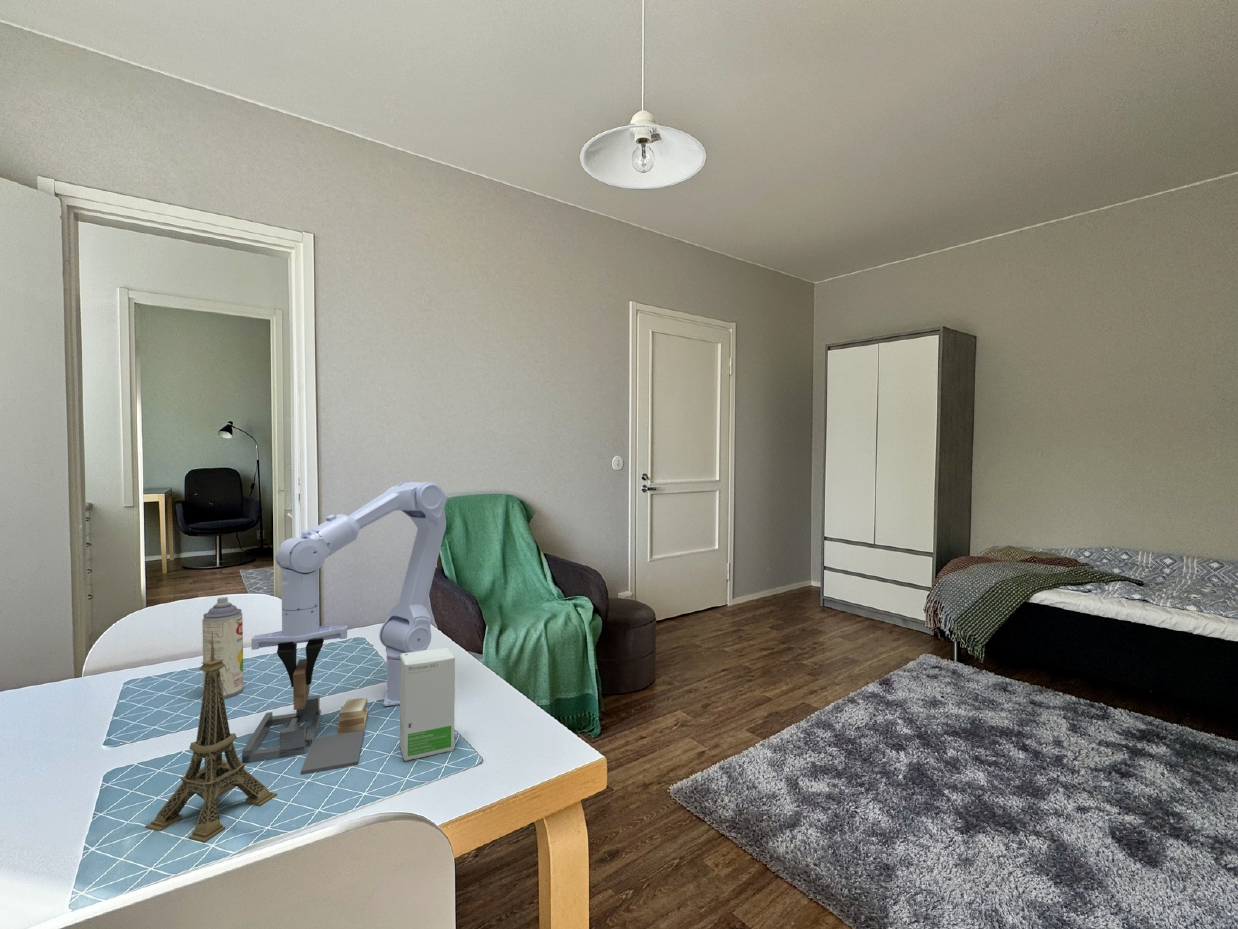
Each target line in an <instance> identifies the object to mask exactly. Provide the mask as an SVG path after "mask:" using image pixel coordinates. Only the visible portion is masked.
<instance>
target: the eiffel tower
mask: <svg viewBox="0 0 1238 929" xmlns="http://www.w3.org/2000/svg"><path fill="white" fill-rule="evenodd" d="M222 661H223V659H216V658H214V647H213V631H212V642H211V659H210V660H207V661H205V662H203V661H202V662H201V664H202V665H201V666H200V667H199V669H198V670H199V671H202V672H203V671H205V672H206V673H205V681H204V689H203V688H202V690H203V691H202V692H203V693H202V698H201V707H200V713H199V722H198V727H197V733H196V734H197V735H196V739H195V740H196V741H192V742H191V743H190V745H189V748H188V749H189V750H191V751H192V752H193V753H192V756H191V760H190V763H189V766H188V769H187V770H186V772H185V774H184V776H180V780H181V782H182V783H181V784H180V785H179V786H178V787H177V789H176V790H175V791H174V792H173V794H172V795H171V796H170V797H169V798H168V800H167V801H166V803H164V805H163V806H162V807H161V809H160V810H159V812H158V813H157V814H156V816H155V818H154V820H152V821H151V822H150V823H148V824H146V825H144V828H145V829H149V830H153V831H156V832H162V831H163V830H165V829H167V828H169V827H171V826H173V824H175V823H176V824H177V822H179V821H180V820H182V819H183V814H181V811H182V809H184V807H185V806H186V804H187V803H188V801H189V800H190V798H192V797H193V796H194V795H197V796H198V797H200V798H201V799H202V800H203V804H202V807H201V810H200V812H199V814H198V815H199V816H198V818H197V819H196V820H197V821H196V824H195V827H194V830H193V831H192V833H191V835H189V837H188V839H189V840H191V841H196V842H200V843H206V842H209V841H210V840H211V839H213V838H214V837H216V836H218V835H219V834H221V833H222V832H223V831H225V830H226V826H224V824H223V823H221V819H220V815H219V814H220V813H219V809H218V803H217V797H218V798H220V797H221V796H223V795H224V794H226V793H228V792H229V791H231V790H234V789H235V788H236V787H237V788H238V789H240V791H241V792H243V794H244V795H246V796H247V797H246V798H245V799H244V800H245V804H249V805H252V806H256V807H257V806H258V807H262V806H263V805H264V804H266V803H268V802H270V801H271V800H273V799H274V798H275V797H277V796H278V793H277V792H273V791H269V789H268V787H267V786H265V785H264V784H263V783H262V782H261V781H259V780H258V779H257V778H256V777H254V775H252V774H251V773H250V772H248V771H247V770H246V769H245V766H246V764H247V763H242V760H240V758H239V756H238V754H237V751H236V748H235V745H234V742H235V740H237V739H238V737H237V734H236V733H234V732H233V733H231V732H230V726H229V725H230V724H229V721H228V715H227V713H228V712H227V708H226V704H225V699H224V696H223V689H222V683H221V676H220V670H219V669H221V668H223V667H224V666H226V665H225V664H224V663H223V662H222ZM223 753H224V756H225V759H226V760H224V759H223ZM203 759H204V766H202V767H201V765H202V763H203Z"/></svg>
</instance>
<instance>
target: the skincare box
mask: <svg viewBox="0 0 1238 929" xmlns="http://www.w3.org/2000/svg"><path fill="white" fill-rule="evenodd" d="M400 662H401V670H400V704H399V748H400V752H401V754H402V758H403V760H404V761H406V762H407V761H410V760H413V759H420V758H424V757H425V758H426V757H428V756H429V757H430V756H433V755H437V754H443V753H448V752H453V751H454V750H455V709H456V708H455V704H456V703H455V701H456V700H455V696H456V695H455V690H456V689H455V688H456V686H455V685H456V684H455V683H456V682H455V681H456V680H455V677H456V674H455V673H456V668H455V667H456V666H455V665H456V664H455V663H456V657H455V656H454V654H453V653H452V651H451V650H450V649H449V647H446V648H436V649H426V650H423V651H418V652H410V653H402V654H400Z"/></svg>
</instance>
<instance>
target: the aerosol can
mask: <svg viewBox="0 0 1238 929" xmlns="http://www.w3.org/2000/svg"><path fill="white" fill-rule="evenodd" d="M228 600H229V599H228V597H227V596H222V597H221V596H220V597H218V598H217V603H215V604H214V605H213V607H211V608H210V609H209V610H208V611H207V612H206V613H203V616H202V617H203V618H202V619H201V620H202V662H205V661H207V660H210V659H211V642H212V631H213V647H214V658H216V659H223V661H222V662H223V663H224V664H225V665H226V666H224V667H223V668H221V669H219V670H220V676H221V683H222V689H223V696H224V700H226V699H227V700H228V699H230V698H232V697H236V696H238V695H240V694H242V693H243V692H244V641H243V640H244V636H243V635H244V634H243V633H244V631H243V625H244V624H243V623H244V622H243V621H244V620H243V619H244V618H243V612H242V609H240V608H237V606H236V605H234V604H232V603H231V602H230V601H228ZM202 673H203V674H202V675H203V676H202V680H203V681H202V682H203V684H202V686H203V688H202V690H203V689H204V681H205V673H206V672H205V671H202Z"/></svg>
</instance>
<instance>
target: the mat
mask: <svg viewBox="0 0 1238 929" xmlns="http://www.w3.org/2000/svg"><path fill="white" fill-rule="evenodd" d="M365 732H366V731H365V730H363V731H357V732H350V733H343V734H337V733H336V734H332V735H325V736H318V737H314V739H313V741H312V744H311V747H309V749H308V751H307V753H306V757H305V759H304V763H303V764H302V767H301V770H300V775H305V774H311V773H316V772H317V773H318V772H324V771H328V770H329V771H330V770H334V769H340V768H346V767H347V768H348V767H351V766H357V765H358V764H359V761H360V756H361V751H362V746H363V743H364V742H363V741H364V737H365Z"/></svg>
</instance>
